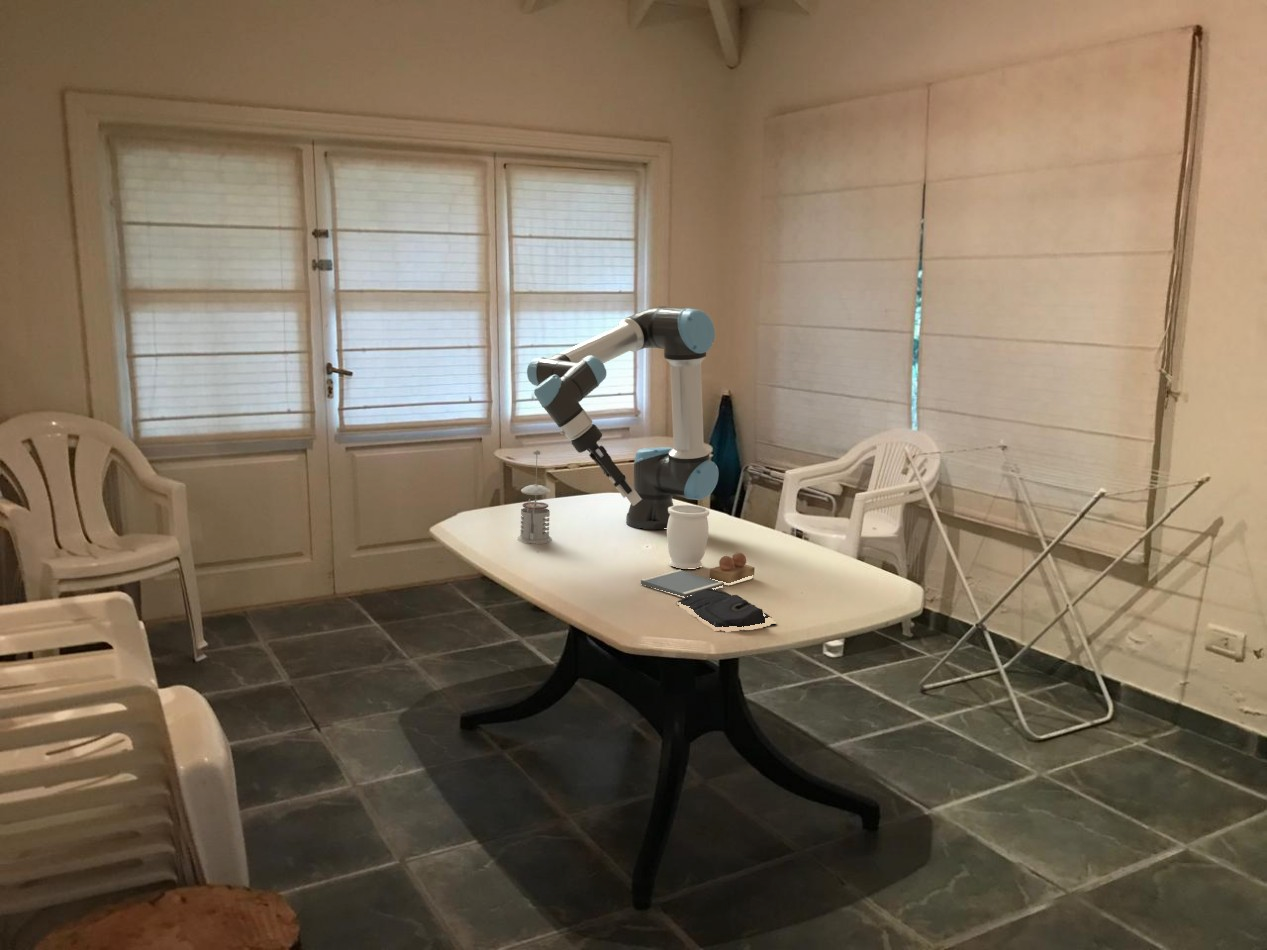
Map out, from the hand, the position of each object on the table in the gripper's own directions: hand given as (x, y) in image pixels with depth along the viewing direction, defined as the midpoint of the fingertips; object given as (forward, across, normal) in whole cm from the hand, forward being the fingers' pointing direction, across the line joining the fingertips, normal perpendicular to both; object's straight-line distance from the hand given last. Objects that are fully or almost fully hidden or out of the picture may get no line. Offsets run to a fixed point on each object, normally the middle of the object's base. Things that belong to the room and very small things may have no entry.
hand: (632, 498), depth 256 cm
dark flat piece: (+25, +37, -2) cm, 45 cm away
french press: (-2, -27, -27) cm, 38 cm away
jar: (+23, 0, 0) cm, 23 cm away
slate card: (+21, +17, -4) cm, 27 cm away
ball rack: (+29, +12, +7) cm, 32 cm away
